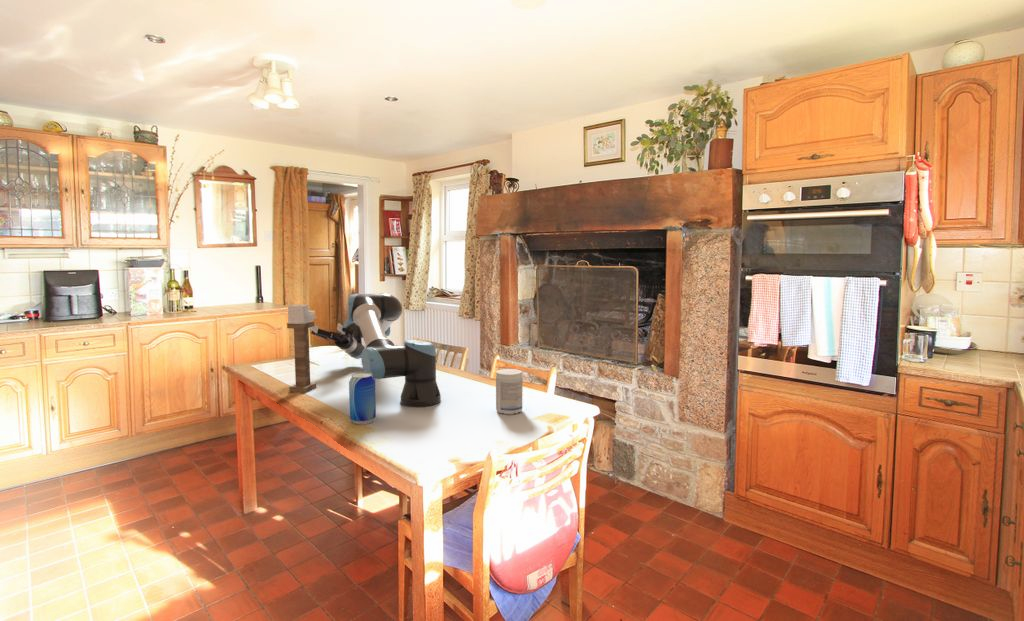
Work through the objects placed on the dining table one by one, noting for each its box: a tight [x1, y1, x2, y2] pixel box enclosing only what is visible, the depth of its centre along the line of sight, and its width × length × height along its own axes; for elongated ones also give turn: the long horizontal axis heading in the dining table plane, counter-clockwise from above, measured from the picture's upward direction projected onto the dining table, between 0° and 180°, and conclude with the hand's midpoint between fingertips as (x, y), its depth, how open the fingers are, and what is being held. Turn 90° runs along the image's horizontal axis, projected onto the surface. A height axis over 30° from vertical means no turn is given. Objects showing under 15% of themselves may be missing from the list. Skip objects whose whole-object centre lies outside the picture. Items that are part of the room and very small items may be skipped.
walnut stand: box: [286, 320, 317, 394], centre depth 209 cm, size 8×7×28 cm
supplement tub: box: [495, 368, 523, 415], centre depth 185 cm, size 10×10×15 cm
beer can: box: [348, 372, 377, 425], centre depth 172 cm, size 8×8×16 cm
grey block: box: [287, 304, 318, 324], centre depth 211 cm, size 16×6×7 cm, turn 178°
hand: (323, 325), depth 224 cm, fingers open, 13 cm apart
